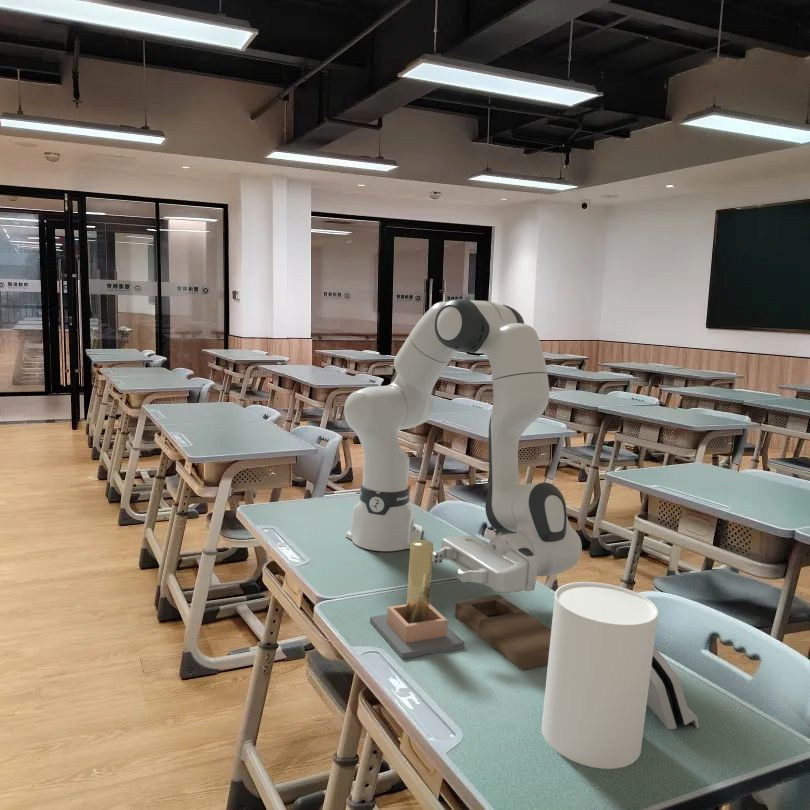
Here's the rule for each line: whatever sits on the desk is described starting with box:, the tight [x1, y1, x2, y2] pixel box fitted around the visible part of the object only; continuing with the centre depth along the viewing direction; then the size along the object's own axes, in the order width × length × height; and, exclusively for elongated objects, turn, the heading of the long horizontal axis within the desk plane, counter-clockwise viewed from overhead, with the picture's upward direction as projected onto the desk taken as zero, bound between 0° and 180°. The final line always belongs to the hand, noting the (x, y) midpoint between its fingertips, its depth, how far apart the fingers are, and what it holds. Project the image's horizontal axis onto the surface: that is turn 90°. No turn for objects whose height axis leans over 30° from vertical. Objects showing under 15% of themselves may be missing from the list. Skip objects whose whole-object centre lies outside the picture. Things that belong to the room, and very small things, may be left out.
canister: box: [541, 581, 659, 770], centre depth 95 cm, size 14×14×20 cm
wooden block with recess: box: [454, 593, 552, 671], centre depth 124 cm, size 21×10×3 cm, turn 28°
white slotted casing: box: [647, 646, 700, 730], centre depth 107 cm, size 17×5×10 cm, turn 9°
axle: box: [405, 539, 434, 624], centre depth 122 cm, size 4×4×16 cm
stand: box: [369, 603, 466, 660], centre depth 123 cm, size 14×12×4 cm
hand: (445, 566), depth 124 cm, fingers open, 8 cm apart
